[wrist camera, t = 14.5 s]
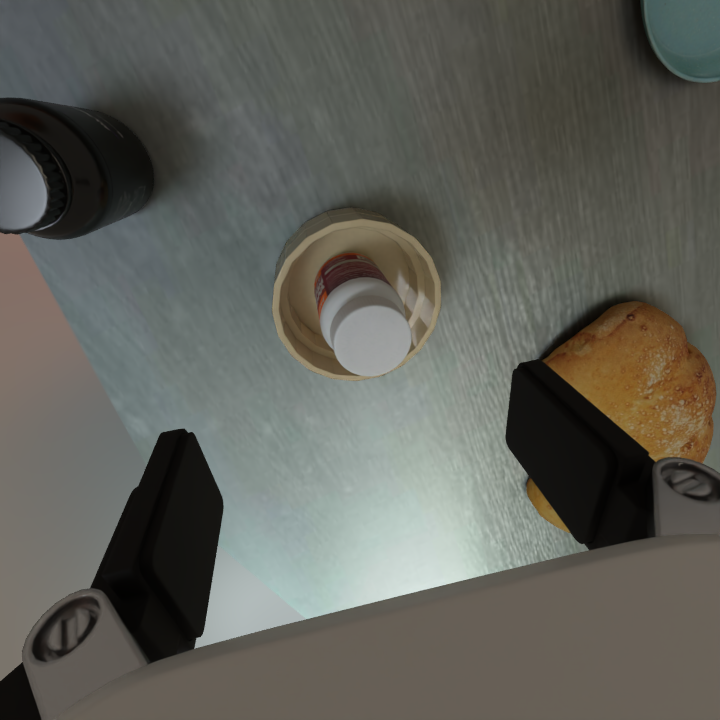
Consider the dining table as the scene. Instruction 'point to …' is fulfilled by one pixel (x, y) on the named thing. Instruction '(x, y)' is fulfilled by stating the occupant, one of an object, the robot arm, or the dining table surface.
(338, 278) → the pill bottle
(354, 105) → the dining table surface
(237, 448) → the dining table surface
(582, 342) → the bread
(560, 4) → the dining table surface
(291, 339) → the beige round bowl
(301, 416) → the dining table surface
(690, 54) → the saucer
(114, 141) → the supplement bottle
